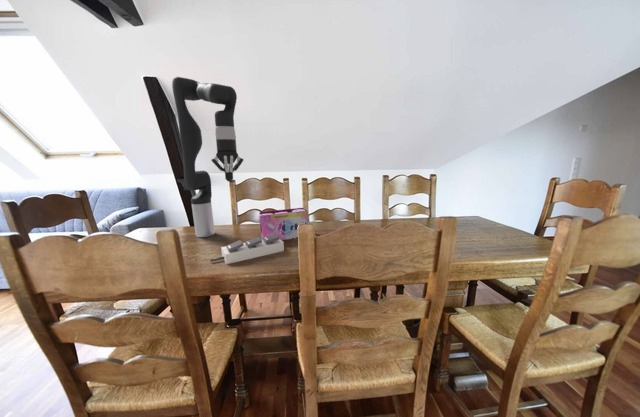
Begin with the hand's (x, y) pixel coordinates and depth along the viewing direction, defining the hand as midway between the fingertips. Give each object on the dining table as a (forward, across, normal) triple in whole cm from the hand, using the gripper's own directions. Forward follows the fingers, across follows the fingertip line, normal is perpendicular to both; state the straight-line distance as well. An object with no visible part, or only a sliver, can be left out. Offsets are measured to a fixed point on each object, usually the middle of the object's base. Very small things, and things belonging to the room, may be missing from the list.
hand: (229, 181), depth 106 cm
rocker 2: (+25, -5, +12) cm, 28 cm away
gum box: (+30, -25, -1) cm, 39 cm away
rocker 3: (+25, -13, +12) cm, 30 cm away
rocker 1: (+25, +2, +12) cm, 28 cm away
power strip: (+30, -3, +11) cm, 32 cm away
